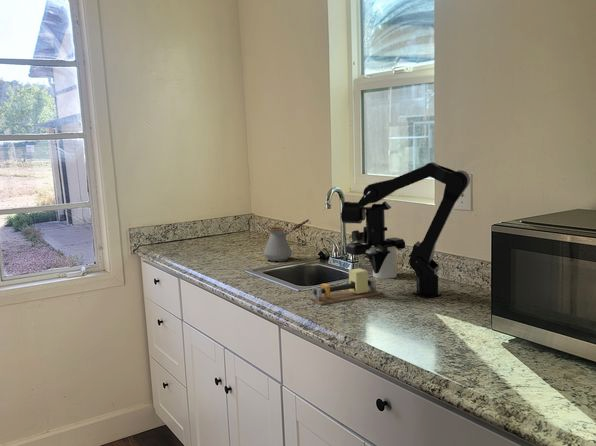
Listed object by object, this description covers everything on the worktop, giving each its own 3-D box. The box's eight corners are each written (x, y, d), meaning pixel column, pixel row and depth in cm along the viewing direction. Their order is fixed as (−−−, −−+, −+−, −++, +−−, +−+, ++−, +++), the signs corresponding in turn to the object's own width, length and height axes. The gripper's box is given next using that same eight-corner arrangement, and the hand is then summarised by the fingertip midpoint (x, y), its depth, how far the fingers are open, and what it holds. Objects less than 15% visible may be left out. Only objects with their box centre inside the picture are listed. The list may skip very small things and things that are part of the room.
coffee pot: (271, 264, 224) (270, 226, 222) (259, 259, 234) (257, 223, 232) (318, 256, 234) (317, 220, 232) (304, 252, 244) (303, 217, 242)
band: (330, 296, 170) (329, 285, 170) (326, 296, 170) (326, 286, 169) (325, 293, 173) (324, 283, 173) (321, 294, 173) (321, 284, 172)
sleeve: (368, 291, 175) (367, 270, 174) (356, 293, 174) (356, 272, 173) (360, 288, 179) (359, 268, 178) (349, 290, 178) (348, 269, 177)
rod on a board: (380, 294, 175) (380, 281, 175) (320, 305, 166) (320, 291, 166) (366, 288, 183) (366, 276, 182) (308, 298, 174) (307, 285, 173)
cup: (396, 278, 194) (395, 244, 192) (372, 278, 195) (371, 244, 194) (397, 273, 202) (396, 239, 200) (373, 272, 203) (373, 239, 202)
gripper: (385, 218, 187) (386, 264, 190) (336, 223, 179) (337, 272, 182) (406, 222, 177) (406, 271, 180) (354, 228, 170) (356, 279, 172)
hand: (376, 273), depth 179 cm, fingers closed
